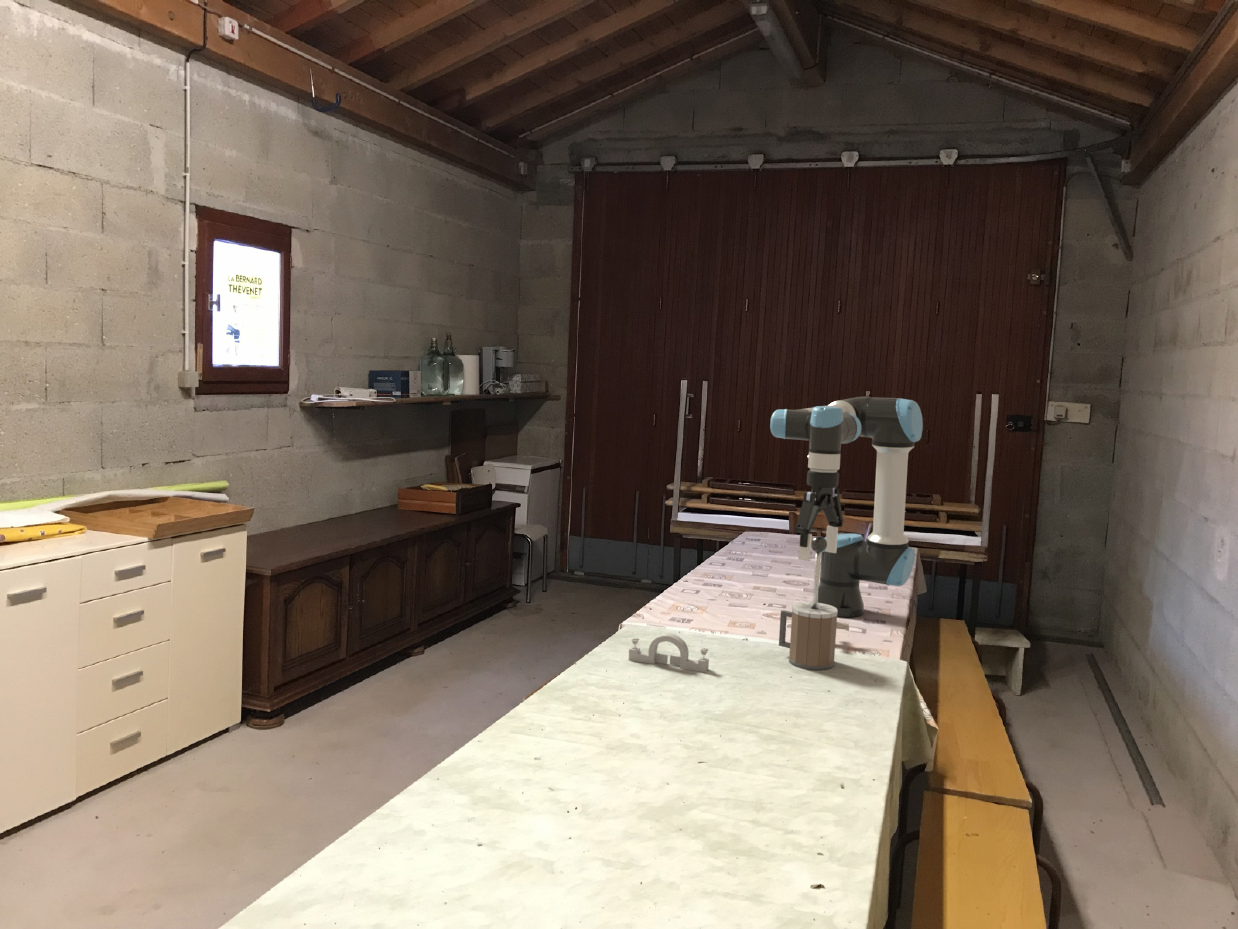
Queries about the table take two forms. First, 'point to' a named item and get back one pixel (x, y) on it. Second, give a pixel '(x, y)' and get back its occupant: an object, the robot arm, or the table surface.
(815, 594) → the plunger
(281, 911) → the table surface
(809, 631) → the wooden mug
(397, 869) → the table surface
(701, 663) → the gateway
